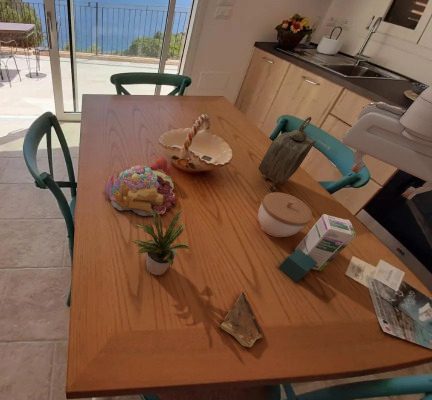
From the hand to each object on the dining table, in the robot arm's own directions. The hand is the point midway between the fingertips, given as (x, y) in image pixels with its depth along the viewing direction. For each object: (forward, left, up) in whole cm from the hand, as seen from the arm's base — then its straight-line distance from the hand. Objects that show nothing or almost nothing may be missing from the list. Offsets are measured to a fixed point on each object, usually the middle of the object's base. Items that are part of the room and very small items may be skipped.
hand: (379, 183), depth 55 cm
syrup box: (0, 0, -27) cm, 27 cm away
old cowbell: (+27, -23, -27) cm, 45 cm away
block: (0, +7, -27) cm, 28 cm away
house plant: (+20, +37, -27) cm, 50 cm away
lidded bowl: (+12, -2, -27) cm, 30 cm away
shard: (-1, +31, -27) cm, 41 cm away
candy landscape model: (+45, +24, -27) cm, 58 cm away
